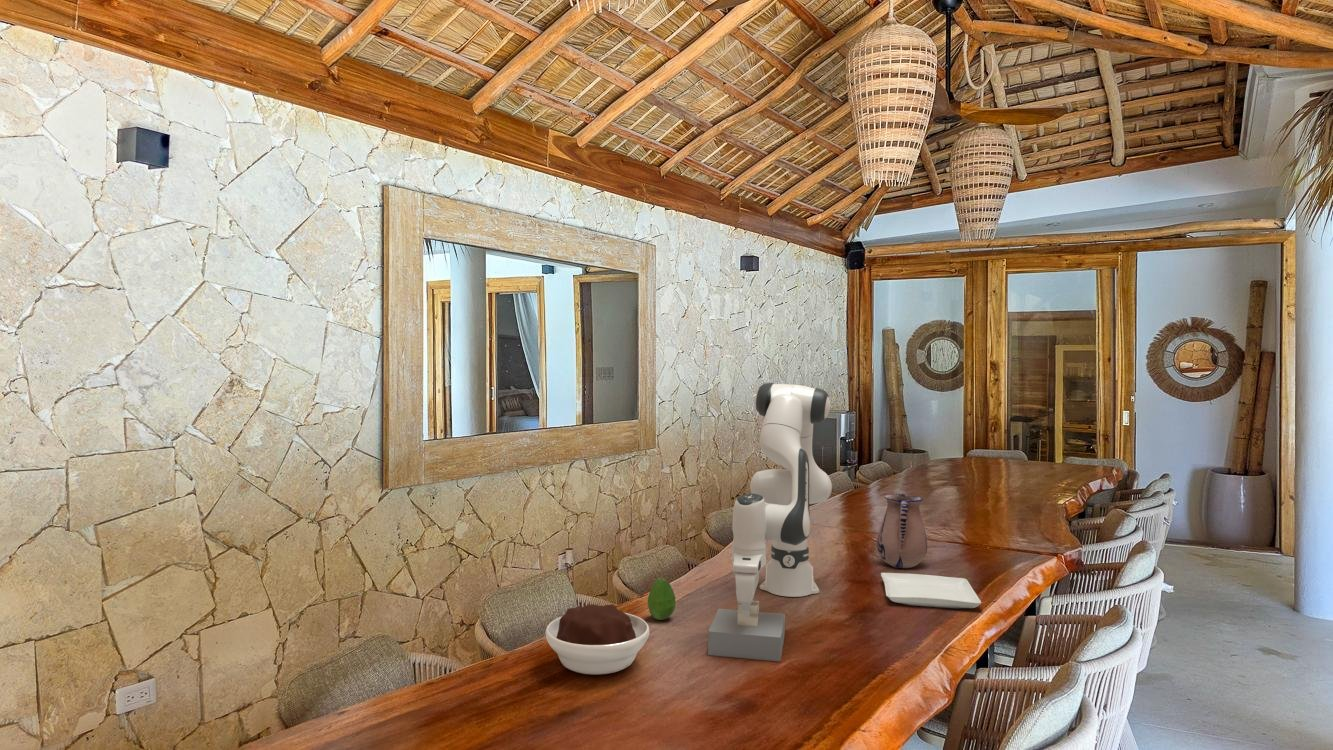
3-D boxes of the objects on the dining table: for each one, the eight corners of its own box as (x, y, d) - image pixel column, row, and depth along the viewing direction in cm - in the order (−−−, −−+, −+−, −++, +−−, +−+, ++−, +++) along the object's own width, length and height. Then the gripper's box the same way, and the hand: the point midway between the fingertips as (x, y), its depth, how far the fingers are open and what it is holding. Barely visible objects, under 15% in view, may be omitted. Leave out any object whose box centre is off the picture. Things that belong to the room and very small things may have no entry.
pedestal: (718, 630, 216) (718, 608, 216) (784, 635, 212) (785, 613, 212) (708, 654, 198) (708, 631, 198) (780, 661, 194) (780, 637, 194)
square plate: (982, 614, 232) (982, 601, 232) (886, 607, 238) (886, 595, 238) (966, 588, 259) (966, 576, 259) (880, 582, 264) (880, 570, 264)
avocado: (651, 625, 219) (651, 582, 219) (644, 615, 227) (645, 574, 227) (678, 622, 222) (679, 580, 221) (671, 613, 229) (671, 572, 229)
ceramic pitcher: (920, 559, 292) (922, 492, 292) (934, 575, 271) (935, 503, 271) (872, 558, 294) (873, 491, 293) (882, 573, 273) (883, 502, 272)
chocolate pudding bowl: (596, 639, 208) (597, 582, 208) (670, 663, 192) (670, 602, 192) (523, 668, 189) (523, 605, 188) (598, 698, 173) (598, 630, 173)
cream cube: (739, 618, 208) (740, 599, 208) (758, 619, 207) (759, 600, 207) (737, 624, 203) (737, 605, 203) (756, 626, 202) (757, 606, 202)
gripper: (741, 547, 215) (740, 597, 216) (731, 567, 195) (731, 622, 196) (764, 548, 214) (763, 599, 214) (757, 568, 194) (756, 624, 194)
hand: (748, 610), depth 205 cm, fingers open, 8 cm apart
